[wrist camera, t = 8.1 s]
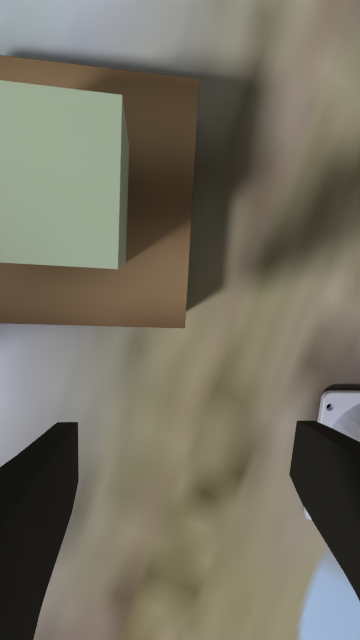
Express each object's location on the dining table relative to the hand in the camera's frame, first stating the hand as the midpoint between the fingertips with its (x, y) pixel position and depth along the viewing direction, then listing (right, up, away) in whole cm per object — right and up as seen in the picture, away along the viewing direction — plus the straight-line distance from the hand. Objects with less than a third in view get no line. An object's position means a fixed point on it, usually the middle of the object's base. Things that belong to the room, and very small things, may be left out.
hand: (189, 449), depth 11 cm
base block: (-6, +10, +7) cm, 13 cm away
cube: (-5, +9, +4) cm, 11 cm away
